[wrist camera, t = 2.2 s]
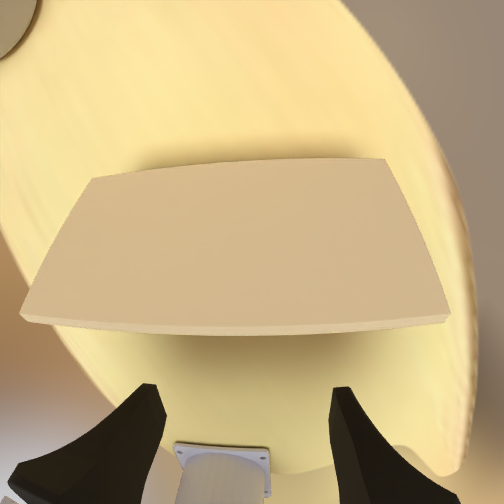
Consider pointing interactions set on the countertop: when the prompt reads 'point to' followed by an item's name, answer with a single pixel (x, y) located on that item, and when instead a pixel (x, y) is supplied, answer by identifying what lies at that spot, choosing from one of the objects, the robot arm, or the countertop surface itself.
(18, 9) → the beverage can
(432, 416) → the countertop surface
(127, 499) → the robot arm
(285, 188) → the flap
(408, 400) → the countertop surface
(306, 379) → the countertop surface
